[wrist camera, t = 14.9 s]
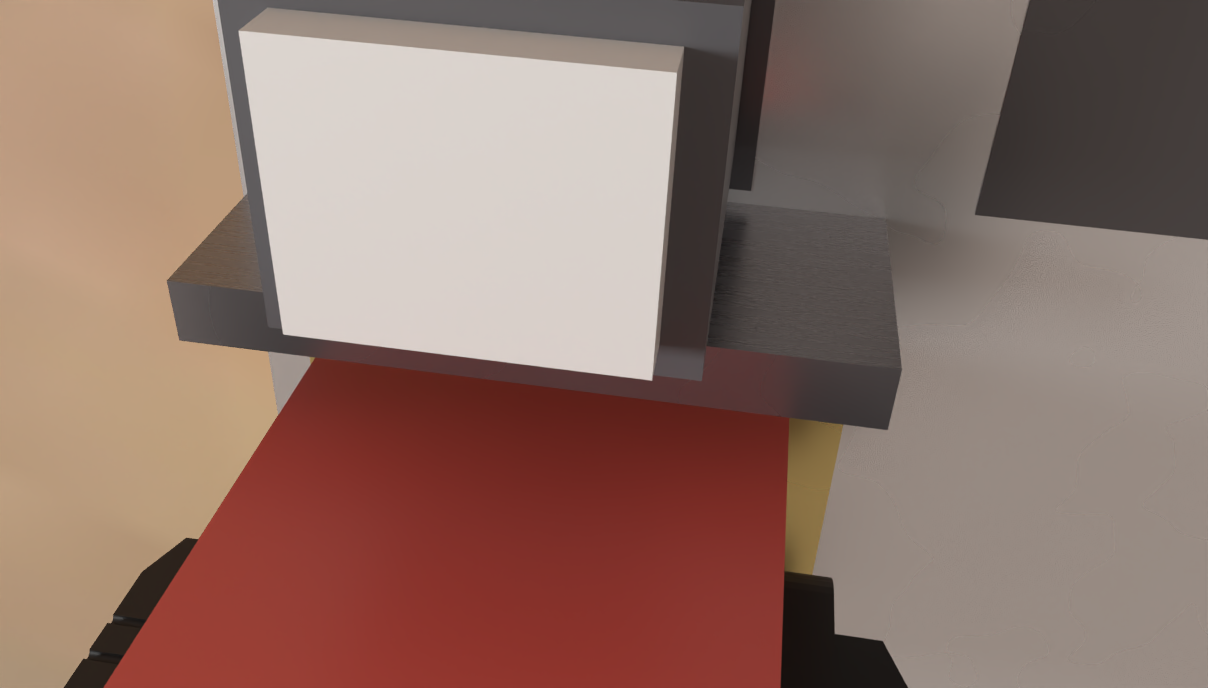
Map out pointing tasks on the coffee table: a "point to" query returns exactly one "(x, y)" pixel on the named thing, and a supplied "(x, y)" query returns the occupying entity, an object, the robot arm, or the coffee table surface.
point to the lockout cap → (483, 544)
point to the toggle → (491, 173)
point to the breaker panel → (940, 326)
